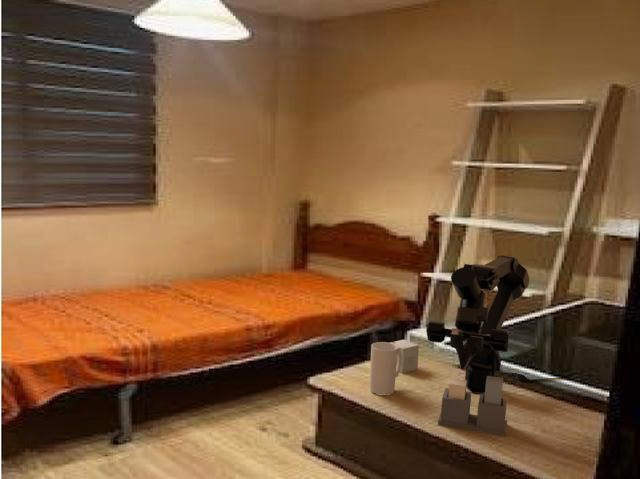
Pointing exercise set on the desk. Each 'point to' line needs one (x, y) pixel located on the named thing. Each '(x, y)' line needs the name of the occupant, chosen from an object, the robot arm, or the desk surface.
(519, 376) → the multiport hub
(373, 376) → the mug
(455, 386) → the beige block
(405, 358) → the skincare box
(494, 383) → the slate key
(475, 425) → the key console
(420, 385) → the desk surface
